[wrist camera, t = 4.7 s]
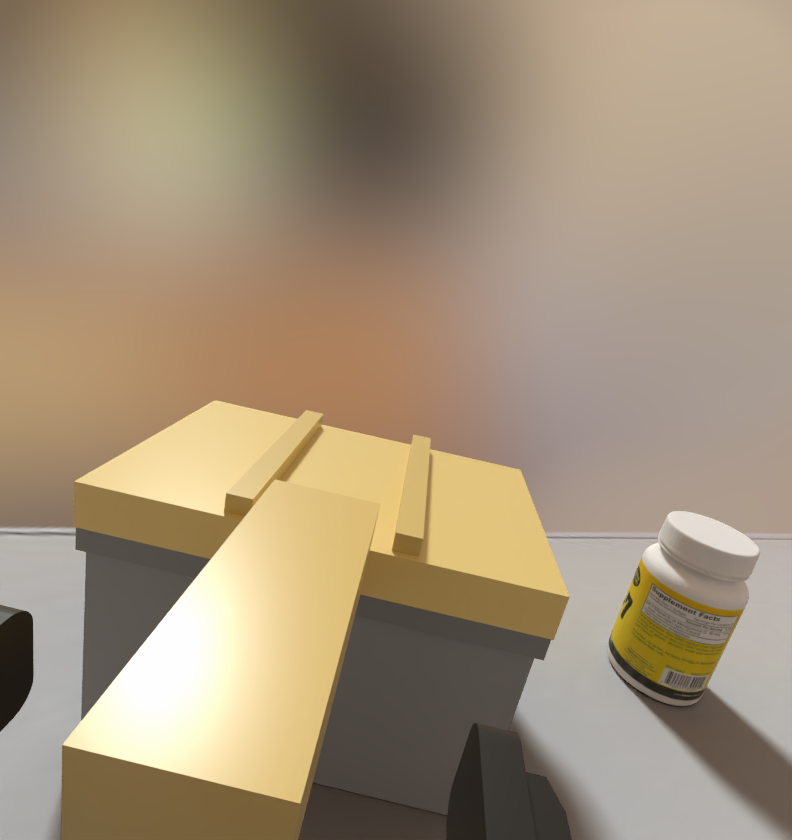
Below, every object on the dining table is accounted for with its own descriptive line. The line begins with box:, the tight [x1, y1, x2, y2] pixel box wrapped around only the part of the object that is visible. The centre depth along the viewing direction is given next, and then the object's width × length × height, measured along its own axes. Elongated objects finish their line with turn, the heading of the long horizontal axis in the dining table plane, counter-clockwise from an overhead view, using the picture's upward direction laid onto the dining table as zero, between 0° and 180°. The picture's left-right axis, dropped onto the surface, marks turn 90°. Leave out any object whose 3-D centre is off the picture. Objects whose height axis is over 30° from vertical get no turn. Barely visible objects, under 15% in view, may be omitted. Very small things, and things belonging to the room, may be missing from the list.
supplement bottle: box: [607, 511, 760, 706], centre depth 25 cm, size 5×5×8 cm
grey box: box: [76, 528, 551, 815], centre depth 21 cm, size 14×9×8 cm, turn 85°
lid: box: [61, 400, 569, 840], centre depth 15 cm, size 14×18×3 cm
